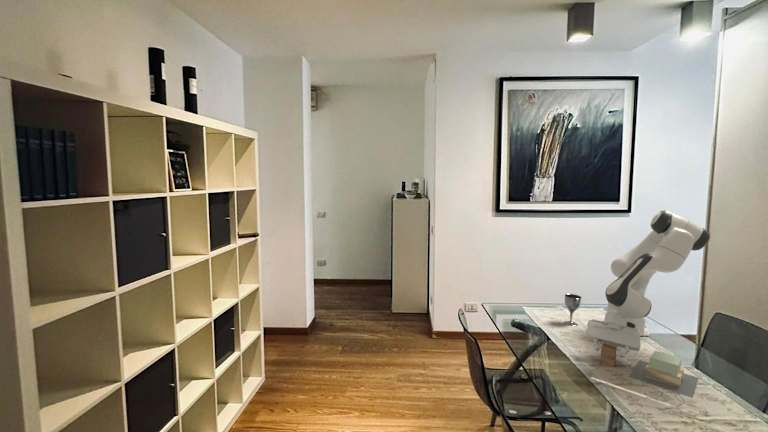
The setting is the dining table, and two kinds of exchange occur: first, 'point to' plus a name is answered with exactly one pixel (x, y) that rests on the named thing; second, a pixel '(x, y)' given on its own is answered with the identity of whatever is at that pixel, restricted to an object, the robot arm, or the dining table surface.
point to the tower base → (664, 376)
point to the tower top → (665, 362)
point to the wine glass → (572, 306)
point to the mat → (685, 387)
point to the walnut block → (608, 355)
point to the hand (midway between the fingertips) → (609, 353)
